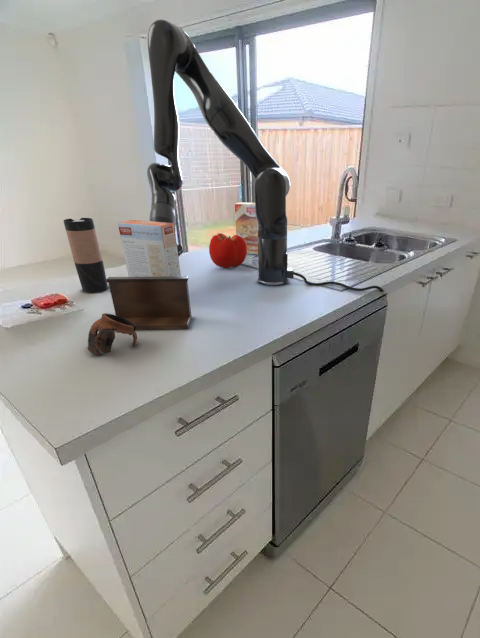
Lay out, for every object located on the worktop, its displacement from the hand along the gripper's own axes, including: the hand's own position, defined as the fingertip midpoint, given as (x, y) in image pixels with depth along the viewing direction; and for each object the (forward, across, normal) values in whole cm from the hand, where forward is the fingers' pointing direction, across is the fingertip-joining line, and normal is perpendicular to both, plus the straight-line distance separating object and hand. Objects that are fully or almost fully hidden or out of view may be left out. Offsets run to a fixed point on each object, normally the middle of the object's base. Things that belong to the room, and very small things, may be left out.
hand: (159, 275), depth 107 cm
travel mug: (0, -22, +9) cm, 23 cm away
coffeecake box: (-35, +28, +44) cm, 63 cm away
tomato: (-19, +18, +28) cm, 38 cm away
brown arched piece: (+29, -3, -21) cm, 36 cm away
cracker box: (+7, 0, +2) cm, 7 cm away
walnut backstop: (+20, +2, -11) cm, 23 cm away
